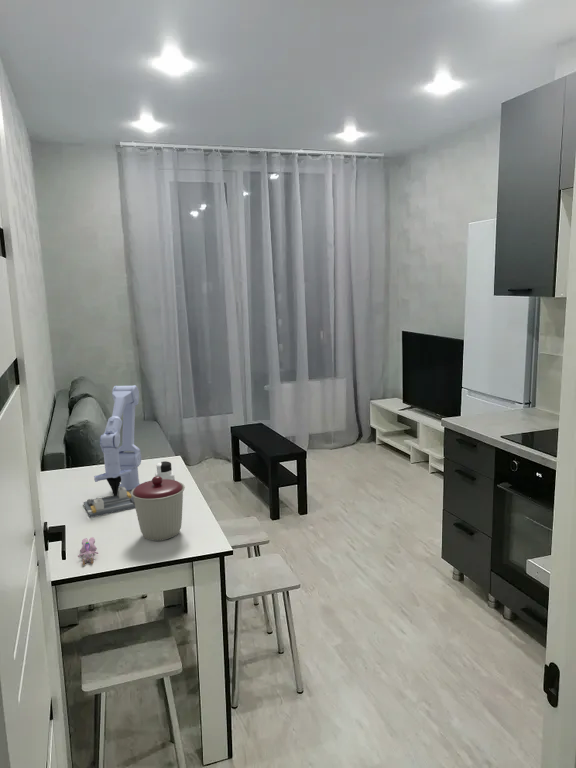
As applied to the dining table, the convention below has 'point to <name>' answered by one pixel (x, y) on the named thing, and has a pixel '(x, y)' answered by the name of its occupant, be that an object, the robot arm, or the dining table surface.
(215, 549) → the dining table surface
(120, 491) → the tab
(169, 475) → the medicine bottle
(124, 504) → the switch board
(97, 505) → the tab
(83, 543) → the rabbit figure
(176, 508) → the canister
